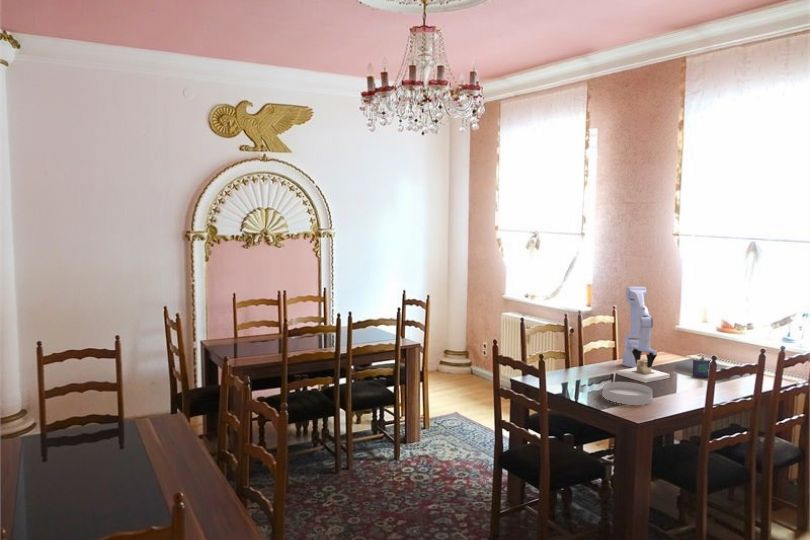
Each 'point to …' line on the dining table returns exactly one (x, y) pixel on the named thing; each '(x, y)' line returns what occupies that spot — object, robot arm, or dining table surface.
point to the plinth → (643, 375)
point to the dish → (627, 393)
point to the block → (643, 366)
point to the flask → (700, 367)
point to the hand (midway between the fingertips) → (643, 365)
